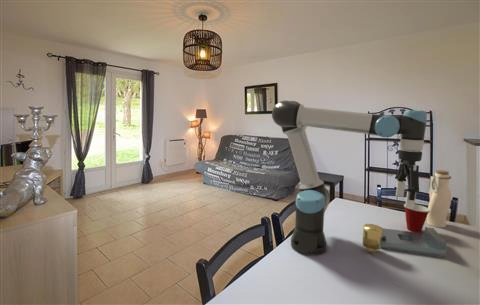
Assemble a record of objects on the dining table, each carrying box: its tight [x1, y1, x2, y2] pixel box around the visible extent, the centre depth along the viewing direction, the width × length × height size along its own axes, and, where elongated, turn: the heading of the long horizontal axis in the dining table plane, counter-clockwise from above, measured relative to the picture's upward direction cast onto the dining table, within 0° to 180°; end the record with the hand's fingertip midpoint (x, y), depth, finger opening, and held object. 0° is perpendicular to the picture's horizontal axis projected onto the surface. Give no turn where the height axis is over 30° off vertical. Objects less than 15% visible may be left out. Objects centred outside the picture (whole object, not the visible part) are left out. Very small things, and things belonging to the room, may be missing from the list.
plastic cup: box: [403, 203, 430, 233], centre depth 124 cm, size 11×11×12 cm
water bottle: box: [426, 169, 452, 228], centre depth 128 cm, size 10×9×28 cm
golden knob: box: [361, 223, 383, 254], centre depth 105 cm, size 7×7×10 cm
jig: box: [380, 226, 447, 258], centre depth 111 cm, size 24×14×6 cm, turn 71°
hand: (404, 201), depth 103 cm, fingers open, 13 cm apart
